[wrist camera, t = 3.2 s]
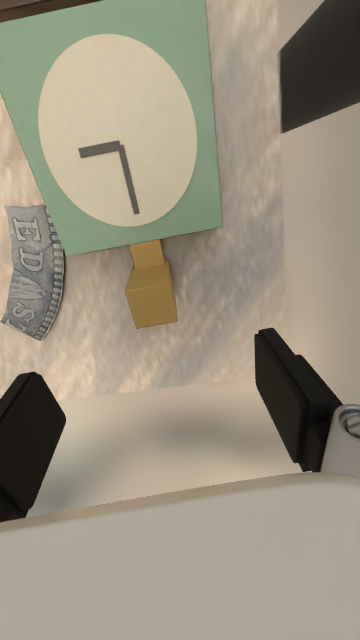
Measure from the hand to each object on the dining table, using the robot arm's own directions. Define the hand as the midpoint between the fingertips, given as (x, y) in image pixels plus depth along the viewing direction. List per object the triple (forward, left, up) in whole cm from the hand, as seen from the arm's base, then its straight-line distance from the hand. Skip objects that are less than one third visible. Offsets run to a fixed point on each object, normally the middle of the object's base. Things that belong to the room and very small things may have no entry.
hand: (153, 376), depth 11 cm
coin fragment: (+10, -2, -13) cm, 16 cm away
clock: (0, -7, -12) cm, 14 cm away
